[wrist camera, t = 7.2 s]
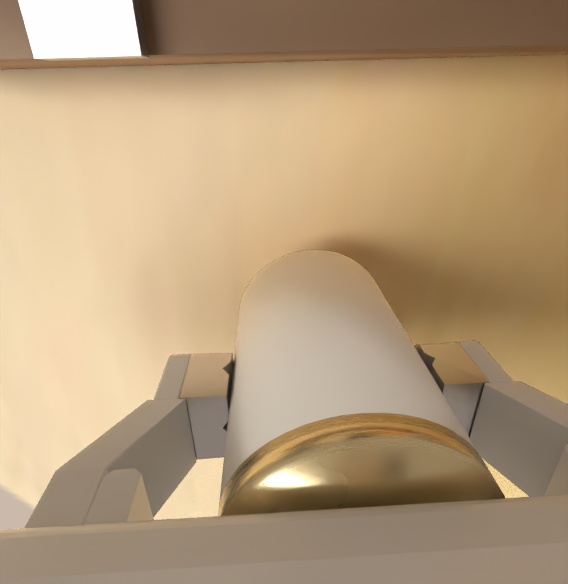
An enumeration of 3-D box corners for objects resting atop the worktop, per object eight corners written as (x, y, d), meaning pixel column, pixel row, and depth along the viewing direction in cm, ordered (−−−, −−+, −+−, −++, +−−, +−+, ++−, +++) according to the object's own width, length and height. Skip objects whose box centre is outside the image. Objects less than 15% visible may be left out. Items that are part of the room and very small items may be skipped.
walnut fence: (-84, -27, 9) (-261, -87, 6) (922, -45, 10) (1218, -107, 7) (-49, 72, 10) (-186, 64, 7) (869, 48, 11) (1109, 30, 8)
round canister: (233, 252, 11) (197, 456, 5) (389, 247, 11) (547, 438, 5) (243, 377, 13) (228, 633, 7) (375, 370, 13) (475, 615, 7)
